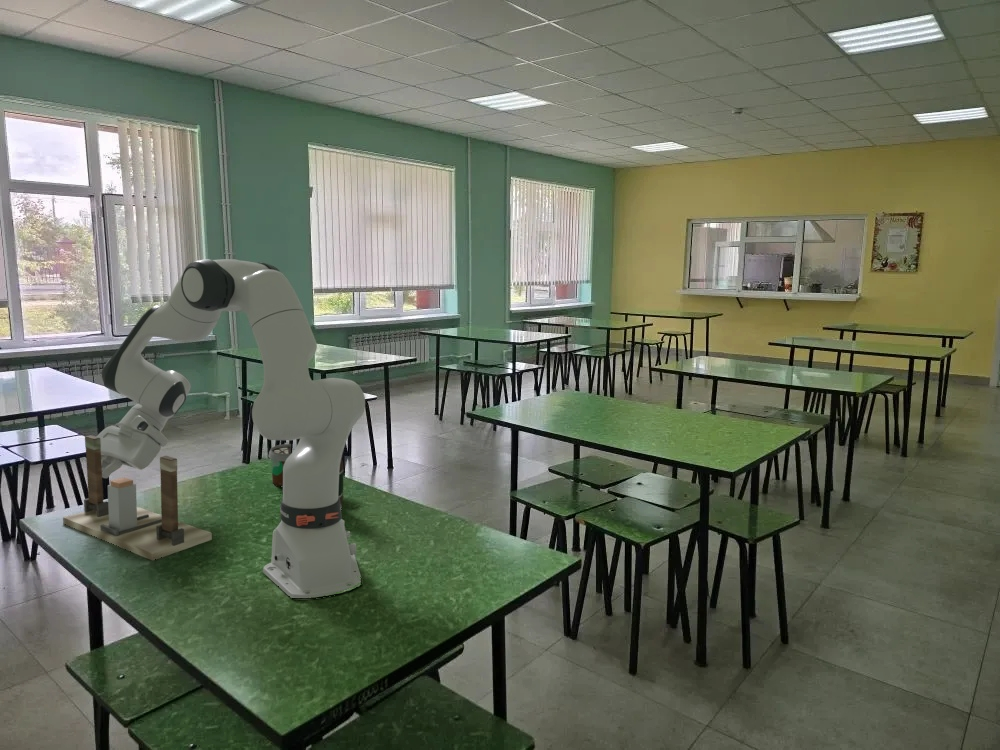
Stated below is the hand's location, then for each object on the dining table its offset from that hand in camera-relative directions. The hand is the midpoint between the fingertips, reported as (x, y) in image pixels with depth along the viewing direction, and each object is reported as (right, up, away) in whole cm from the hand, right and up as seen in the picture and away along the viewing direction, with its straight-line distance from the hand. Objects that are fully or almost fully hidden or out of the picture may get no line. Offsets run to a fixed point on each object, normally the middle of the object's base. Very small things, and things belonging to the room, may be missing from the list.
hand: (100, 476), depth 158 cm
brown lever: (+23, -11, -14) cm, 29 cm away
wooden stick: (-1, -7, 0) cm, 7 cm away
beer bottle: (+50, -11, +13) cm, 53 cm away
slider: (+10, -10, -8) cm, 17 cm away
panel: (+12, -12, -6) cm, 17 cm away
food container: (+31, -7, +34) cm, 47 cm away
